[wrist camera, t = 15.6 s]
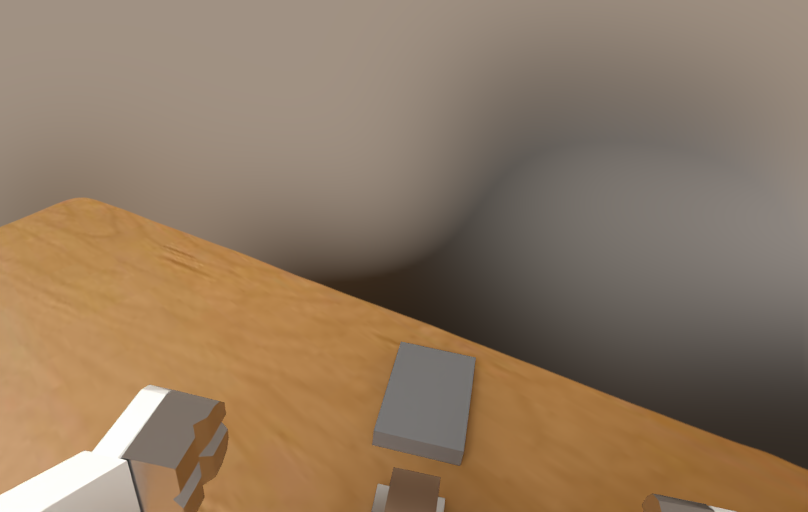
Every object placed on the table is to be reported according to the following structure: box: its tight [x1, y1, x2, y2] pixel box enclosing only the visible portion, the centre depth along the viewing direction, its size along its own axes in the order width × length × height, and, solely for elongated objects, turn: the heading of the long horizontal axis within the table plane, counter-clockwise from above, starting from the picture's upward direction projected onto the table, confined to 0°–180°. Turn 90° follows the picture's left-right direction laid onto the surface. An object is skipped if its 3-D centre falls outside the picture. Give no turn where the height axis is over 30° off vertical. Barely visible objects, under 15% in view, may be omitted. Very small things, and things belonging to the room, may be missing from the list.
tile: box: [372, 342, 476, 466], centre depth 53 cm, size 2×8×12 cm
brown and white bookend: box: [371, 467, 445, 512], centre depth 37 cm, size 10×6×13 cm, turn 170°
